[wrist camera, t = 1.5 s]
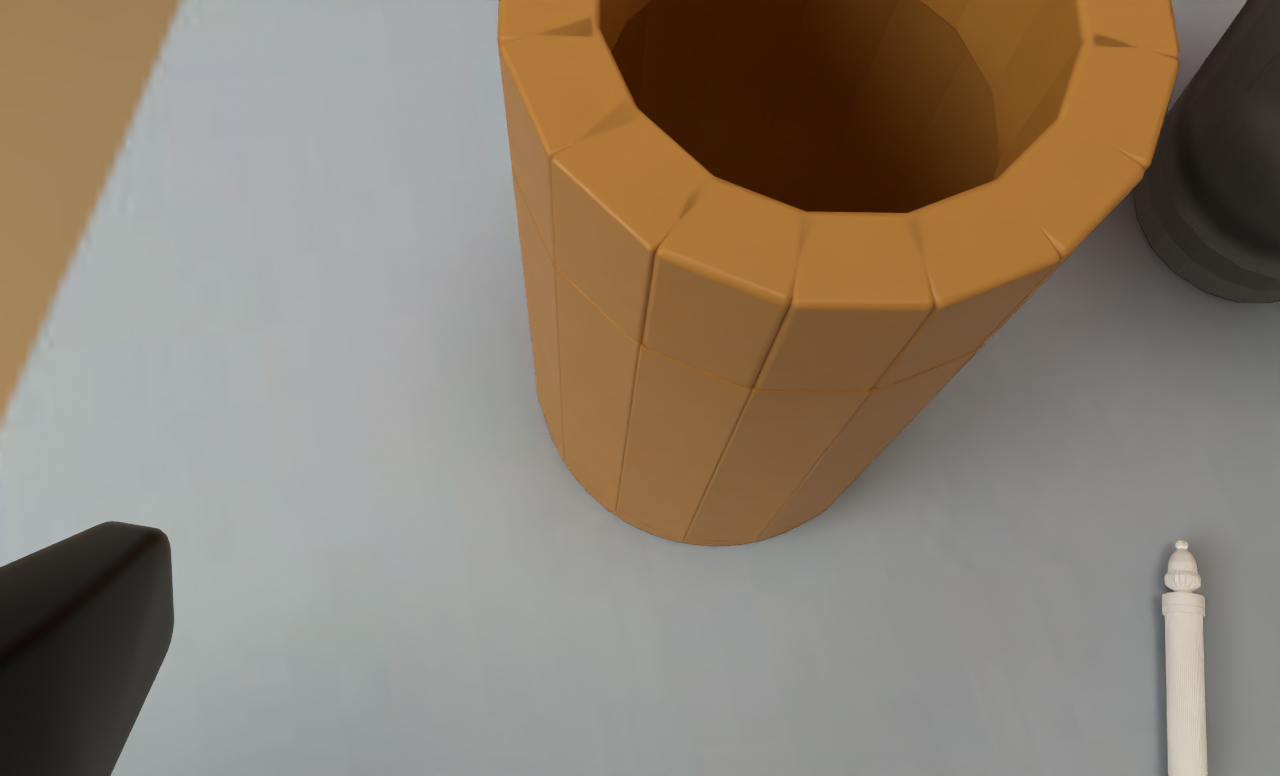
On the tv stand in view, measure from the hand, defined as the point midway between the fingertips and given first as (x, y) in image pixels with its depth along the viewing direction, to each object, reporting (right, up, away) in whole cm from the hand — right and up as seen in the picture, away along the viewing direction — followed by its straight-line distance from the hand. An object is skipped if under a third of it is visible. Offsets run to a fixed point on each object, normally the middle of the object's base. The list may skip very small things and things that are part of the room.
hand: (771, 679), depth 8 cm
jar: (0, +2, +15) cm, 15 cm away
